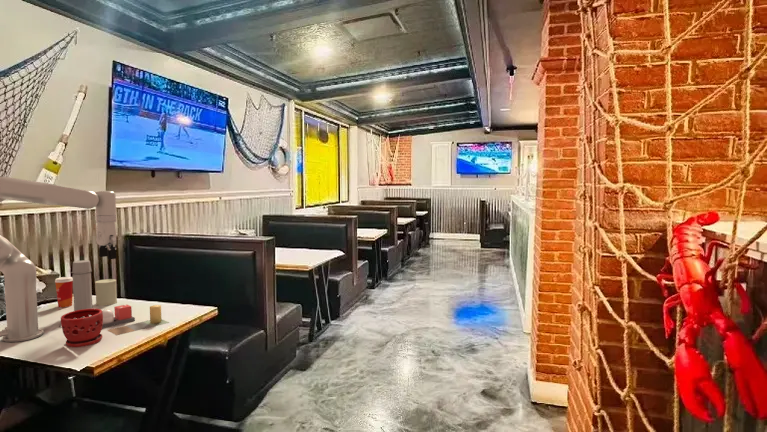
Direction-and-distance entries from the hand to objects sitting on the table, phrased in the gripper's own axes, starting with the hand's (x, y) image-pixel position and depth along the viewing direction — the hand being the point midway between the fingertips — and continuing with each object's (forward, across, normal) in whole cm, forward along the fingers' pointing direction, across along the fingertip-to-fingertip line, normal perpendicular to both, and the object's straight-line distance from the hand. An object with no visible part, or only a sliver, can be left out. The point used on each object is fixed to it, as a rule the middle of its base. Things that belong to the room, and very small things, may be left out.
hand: (107, 257), depth 194 cm
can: (+28, -33, +10) cm, 45 cm away
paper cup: (+28, -43, -5) cm, 52 cm away
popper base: (+28, +7, -1) cm, 29 cm away
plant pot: (+28, +24, -18) cm, 41 cm away
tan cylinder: (+28, +20, +11) cm, 36 cm away
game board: (+28, +20, +4) cm, 35 cm away
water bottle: (+28, -20, -4) cm, 35 cm away
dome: (+28, +7, -4) cm, 29 cm away
